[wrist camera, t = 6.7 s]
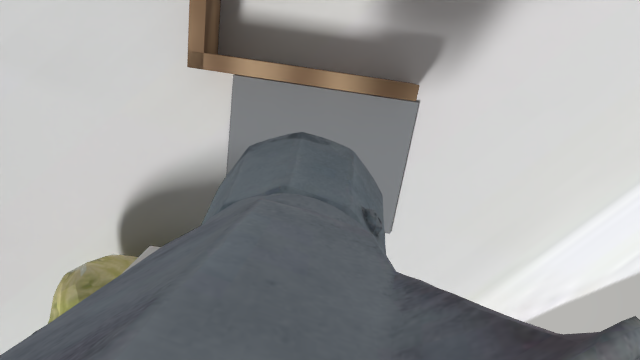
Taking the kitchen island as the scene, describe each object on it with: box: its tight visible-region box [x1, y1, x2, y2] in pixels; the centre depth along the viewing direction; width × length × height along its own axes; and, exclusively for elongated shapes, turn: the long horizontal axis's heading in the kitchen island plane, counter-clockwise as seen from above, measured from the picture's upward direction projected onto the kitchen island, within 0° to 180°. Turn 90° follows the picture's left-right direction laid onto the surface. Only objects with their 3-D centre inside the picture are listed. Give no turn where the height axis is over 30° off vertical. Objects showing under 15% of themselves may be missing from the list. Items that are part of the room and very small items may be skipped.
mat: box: [226, 75, 419, 233], centre depth 34 cm, size 16×12×1 cm
